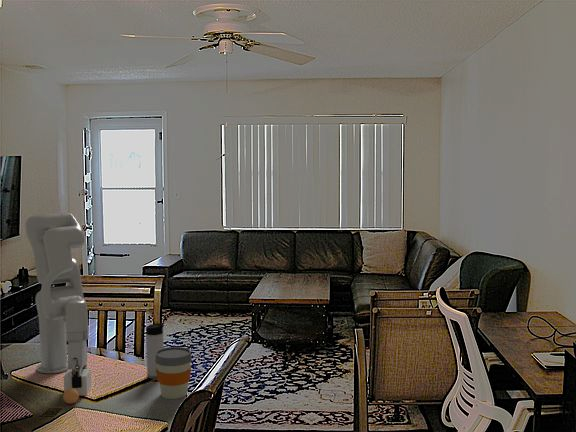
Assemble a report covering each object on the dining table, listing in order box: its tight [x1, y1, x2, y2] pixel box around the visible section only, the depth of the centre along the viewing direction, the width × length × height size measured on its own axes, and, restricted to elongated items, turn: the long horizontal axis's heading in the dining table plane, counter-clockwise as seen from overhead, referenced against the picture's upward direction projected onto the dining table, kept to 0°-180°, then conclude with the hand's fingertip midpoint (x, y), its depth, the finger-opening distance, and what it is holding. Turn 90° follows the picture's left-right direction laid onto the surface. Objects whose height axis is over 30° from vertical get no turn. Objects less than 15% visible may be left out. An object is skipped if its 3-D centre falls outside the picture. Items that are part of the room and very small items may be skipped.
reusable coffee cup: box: [155, 346, 193, 400], centre depth 232 cm, size 13×13×15 cm
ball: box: [62, 388, 80, 405], centre depth 225 cm, size 5×5×5 cm
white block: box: [63, 368, 92, 396], centre depth 235 cm, size 8×8×7 cm
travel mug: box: [145, 323, 165, 380], centre depth 249 cm, size 6×7×20 cm
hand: (79, 383), depth 235 cm, fingers open, 8 cm apart
